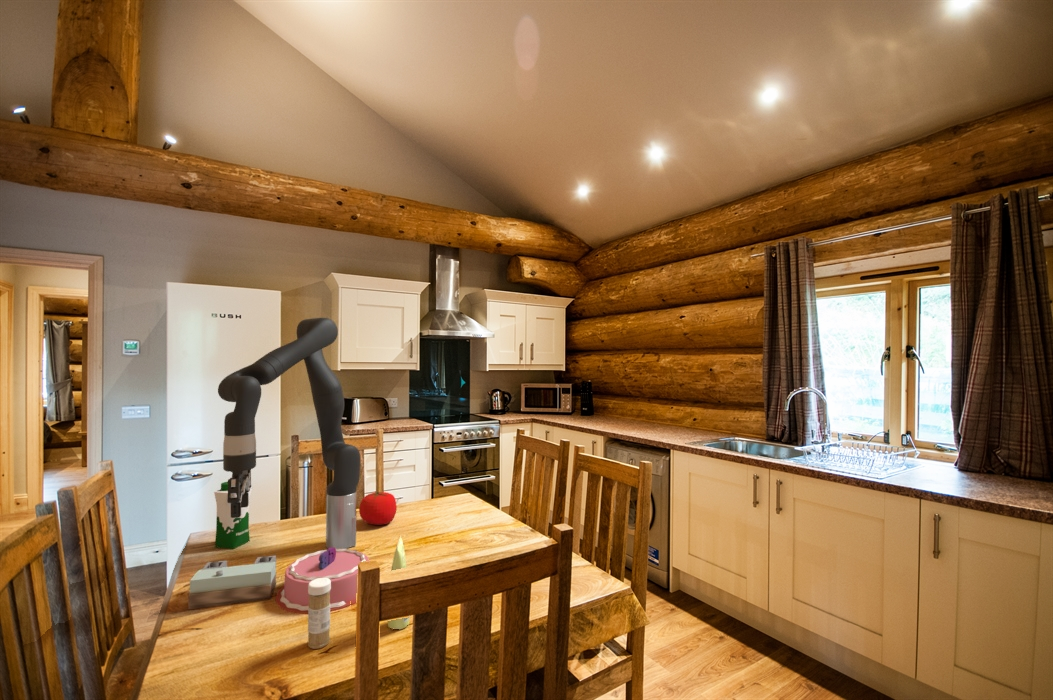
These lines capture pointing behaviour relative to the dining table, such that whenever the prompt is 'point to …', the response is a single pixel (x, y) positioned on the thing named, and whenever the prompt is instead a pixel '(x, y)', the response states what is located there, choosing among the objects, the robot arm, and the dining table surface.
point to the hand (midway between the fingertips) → (240, 511)
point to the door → (233, 576)
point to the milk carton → (230, 522)
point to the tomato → (378, 508)
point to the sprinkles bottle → (319, 613)
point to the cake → (321, 565)
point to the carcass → (231, 594)
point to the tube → (397, 563)
